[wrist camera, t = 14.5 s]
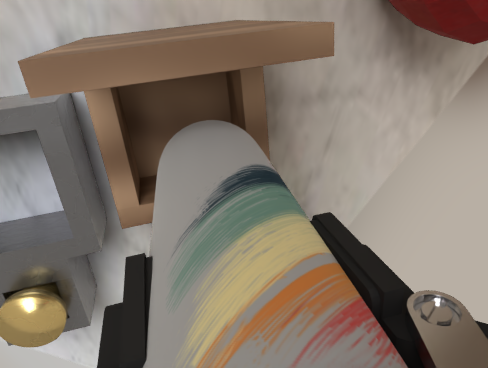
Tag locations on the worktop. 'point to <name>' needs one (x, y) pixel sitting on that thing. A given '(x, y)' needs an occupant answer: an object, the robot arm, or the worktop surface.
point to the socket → (58, 223)
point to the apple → (448, 17)
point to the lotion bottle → (246, 268)
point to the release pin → (33, 316)
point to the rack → (170, 90)
